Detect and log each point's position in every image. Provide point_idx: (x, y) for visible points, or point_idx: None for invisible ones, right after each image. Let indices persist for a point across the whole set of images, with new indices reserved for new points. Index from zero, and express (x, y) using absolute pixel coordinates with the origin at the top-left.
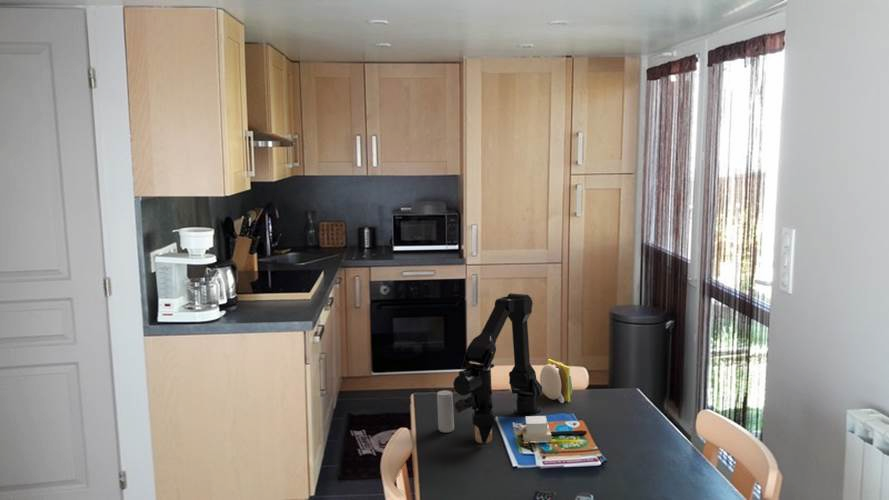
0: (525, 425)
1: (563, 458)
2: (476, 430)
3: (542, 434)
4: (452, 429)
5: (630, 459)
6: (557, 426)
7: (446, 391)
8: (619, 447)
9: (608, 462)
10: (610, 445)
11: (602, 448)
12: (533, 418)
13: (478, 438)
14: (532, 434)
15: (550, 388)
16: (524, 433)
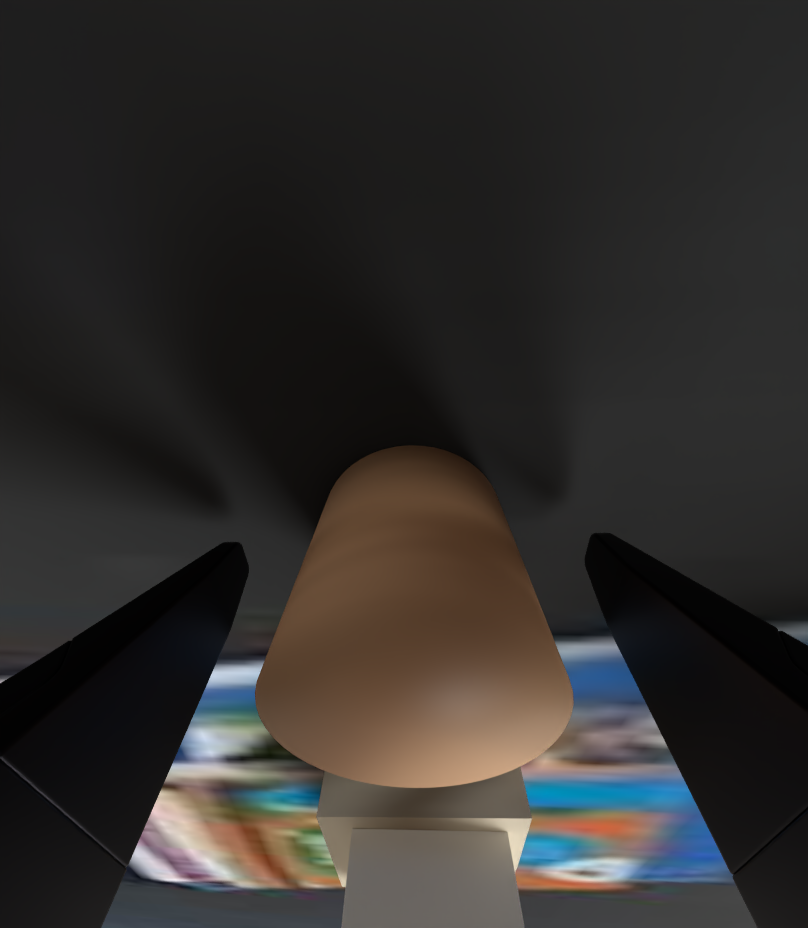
0: (518, 830)
1: (171, 827)
2: (327, 556)
3: (340, 868)
4: None
5: (223, 915)
6: (573, 840)
7: None
8: (319, 912)
9: (180, 890)
10: (335, 904)
11: (305, 893)
12: None
13: (326, 506)
14: (336, 844)
15: None
16: (356, 820)
